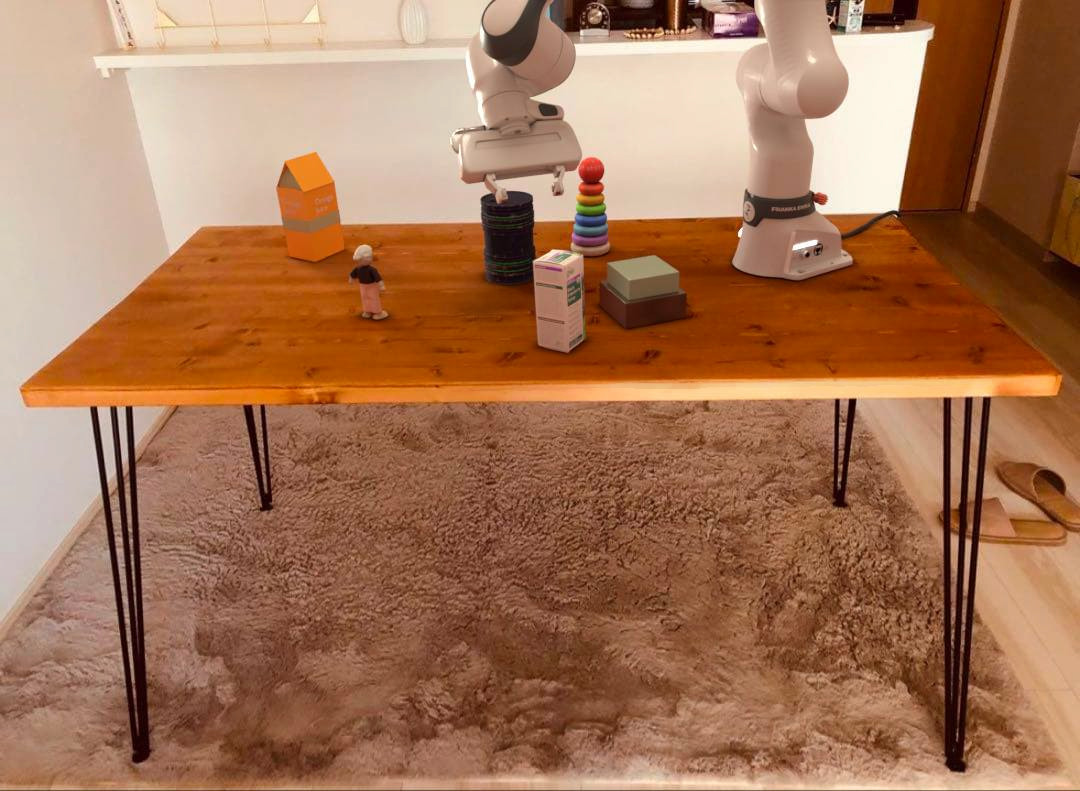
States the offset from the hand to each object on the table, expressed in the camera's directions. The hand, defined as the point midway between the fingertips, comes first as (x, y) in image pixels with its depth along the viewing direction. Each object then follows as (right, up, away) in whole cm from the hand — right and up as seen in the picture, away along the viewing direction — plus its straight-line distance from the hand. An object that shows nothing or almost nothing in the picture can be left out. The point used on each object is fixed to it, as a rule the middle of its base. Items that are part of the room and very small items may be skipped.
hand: (531, 197), depth 135 cm
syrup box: (+5, -23, 0) cm, 24 cm away
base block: (+19, -17, +10) cm, 27 cm away
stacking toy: (+12, -2, +38) cm, 39 cm away
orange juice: (-45, -2, +43) cm, 63 cm away
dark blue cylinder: (-4, -9, +27) cm, 29 cm away
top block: (+19, -13, +8) cm, 24 cm away
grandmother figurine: (-28, -18, +13) cm, 35 cm away
